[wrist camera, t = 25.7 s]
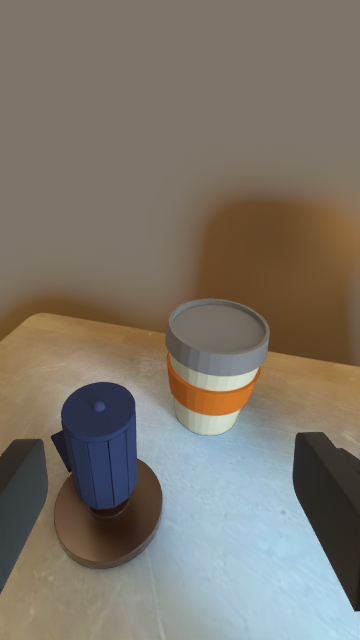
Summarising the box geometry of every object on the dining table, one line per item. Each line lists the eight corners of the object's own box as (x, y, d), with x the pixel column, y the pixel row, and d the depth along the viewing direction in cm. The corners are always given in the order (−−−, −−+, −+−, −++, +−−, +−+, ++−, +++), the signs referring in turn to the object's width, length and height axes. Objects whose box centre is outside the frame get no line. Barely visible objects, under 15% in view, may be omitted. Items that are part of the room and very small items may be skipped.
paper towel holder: (117, 444, 41) (111, 352, 33) (183, 505, 35) (194, 411, 27) (35, 510, 34) (1, 412, 26) (99, 600, 28) (81, 510, 20)
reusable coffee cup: (152, 388, 50) (153, 304, 41) (224, 372, 54) (239, 292, 46) (180, 459, 40) (189, 366, 32) (267, 433, 44) (294, 345, 36)
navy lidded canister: (148, 484, 31) (149, 409, 26) (92, 522, 28) (79, 447, 22) (99, 415, 38) (90, 343, 32) (49, 439, 35) (30, 365, 29)
